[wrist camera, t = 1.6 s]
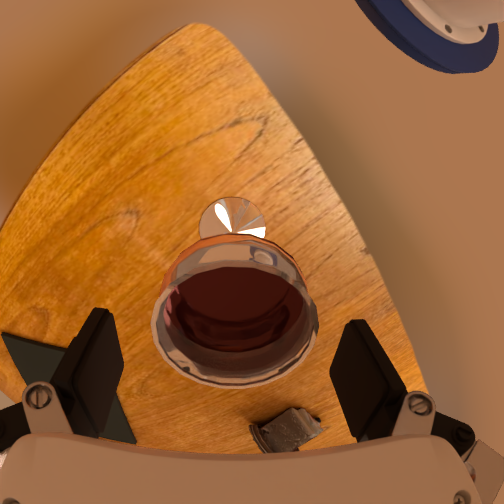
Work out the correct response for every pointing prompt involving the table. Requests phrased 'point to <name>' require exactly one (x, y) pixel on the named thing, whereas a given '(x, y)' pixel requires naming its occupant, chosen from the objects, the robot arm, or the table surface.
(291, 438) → the checkered cake slice
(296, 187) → the table surface
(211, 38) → the table surface
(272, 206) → the table surface
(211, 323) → the wineglass
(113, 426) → the mat
